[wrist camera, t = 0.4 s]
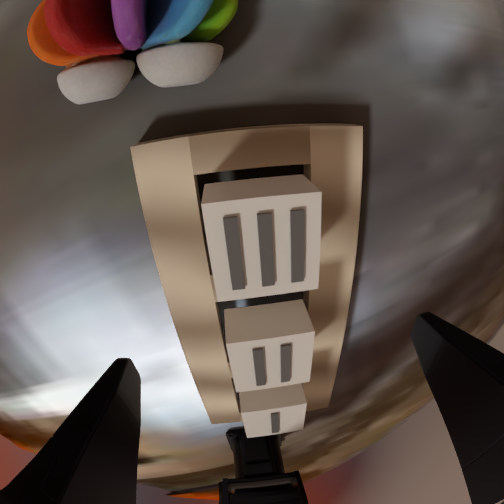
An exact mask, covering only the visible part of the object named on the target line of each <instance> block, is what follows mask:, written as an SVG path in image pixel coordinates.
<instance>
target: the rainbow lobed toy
mask: <svg viewBox="0 0 504 504" xmlns="http://www.w3.org/2000/svg"><path fill="white" fill-rule="evenodd" d="M237 7H238V0H43V1H42V2H41V3H40V4H39V6H38V7H37V8H36V10H35V12H34V13H33V15H32V17H31V19H30V22H29V25H28V29H27V36H28V42H29V45H30V47H31V49H32V51H33V52H34V53H35V55H36V56H38V57H39V58H40V59H41V60H43V61H45V62H47V63H49V64H53V65H58V66H66V69H65V70H63V71H62V72H61V73H60V74H58V76H57V82H58V85H59V88H60V90H61V91H62V93H63V94H64V95H65V97H66V98H68V99H69V100H70V101H72V102H74V103H76V104H85V103H91V102H96V101H101V100H106V99H110V98H114V97H116V96H117V95H119V94H120V93H121V92H122V91H123V90H124V89H125V87H126V86H127V85H128V83H129V81H130V80H131V78H132V75H133V73H134V69H135V62H134V61H132V60H127V59H122V58H121V57H120V56H122V55H125V53H126V51H127V50H132V51H134V50H137V49H139V48H142V49H143V50H142V52H141V53H139V54H138V55H137V60H136V61H137V64H138V67H139V69H140V71H141V73H142V74H143V75H144V76H145V78H146V79H148V80H149V81H150V82H151V83H153V84H155V85H157V86H159V87H176V86H185V85H193V84H198V83H201V82H203V81H205V80H206V79H207V78H209V77H210V76H211V75H212V74H213V73H214V72H215V70H216V69H217V67H218V66H219V64H220V62H221V59H222V56H223V47H222V46H221V45H219V44H215V43H209V42H207V41H209V40H211V39H213V38H214V37H215V36H216V35H218V34H219V33H220V32H221V31H222V30H224V29H225V27H226V26H227V25H228V24H229V23H230V21H231V20H232V19H233V17H234V15H235V13H236V11H237Z"/></svg>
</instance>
